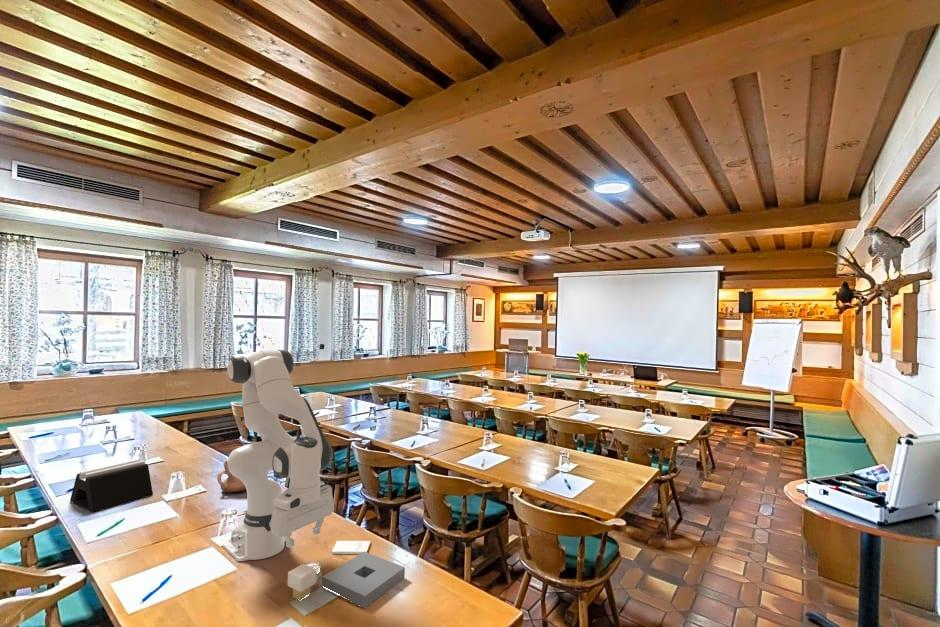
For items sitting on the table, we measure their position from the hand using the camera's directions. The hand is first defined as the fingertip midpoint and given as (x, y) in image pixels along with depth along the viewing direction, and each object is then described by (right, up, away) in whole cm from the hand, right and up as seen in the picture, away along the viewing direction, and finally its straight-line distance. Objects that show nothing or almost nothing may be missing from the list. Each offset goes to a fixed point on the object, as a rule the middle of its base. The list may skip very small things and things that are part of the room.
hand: (303, 539), depth 131 cm
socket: (+17, -17, +7) cm, 25 cm away
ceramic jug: (-64, -18, +81) cm, 105 cm away
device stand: (-114, -17, +68) cm, 133 cm away
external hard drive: (+7, -19, +28) cm, 34 cm away
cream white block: (-1, -17, 0) cm, 17 cm away
